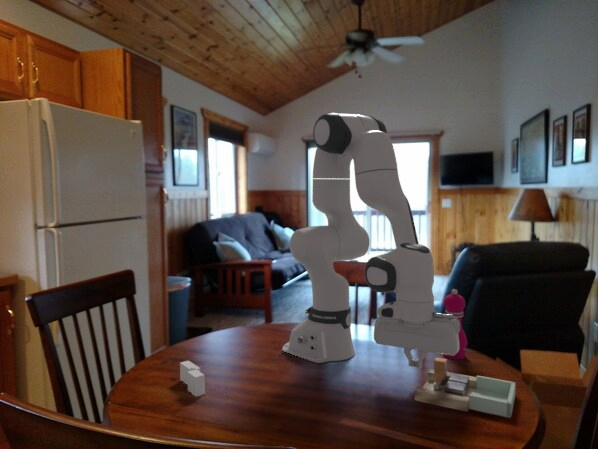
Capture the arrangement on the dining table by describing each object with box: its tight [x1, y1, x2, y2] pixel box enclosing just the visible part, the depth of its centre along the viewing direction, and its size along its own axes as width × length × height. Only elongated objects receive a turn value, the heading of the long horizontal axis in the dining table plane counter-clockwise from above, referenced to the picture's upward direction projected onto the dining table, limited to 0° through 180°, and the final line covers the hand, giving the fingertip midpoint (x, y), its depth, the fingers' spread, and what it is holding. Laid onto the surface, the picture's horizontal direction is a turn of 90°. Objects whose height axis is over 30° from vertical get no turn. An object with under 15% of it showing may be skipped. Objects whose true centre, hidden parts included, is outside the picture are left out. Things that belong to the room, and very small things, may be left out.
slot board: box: [413, 368, 477, 413], centre depth 103 cm, size 12×15×3 cm
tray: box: [468, 375, 517, 419], centre depth 98 cm, size 8×12×4 cm
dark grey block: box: [449, 373, 469, 395], centre depth 104 cm, size 4×4×3 cm
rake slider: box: [433, 357, 448, 392], centre depth 103 cm, size 2×9×7 cm, turn 150°
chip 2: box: [444, 381, 466, 397], centre depth 100 cm, size 4×4×3 cm
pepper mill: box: [442, 288, 468, 361], centre depth 128 cm, size 7×7×20 cm
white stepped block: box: [179, 360, 206, 398], centre depth 109 cm, size 15×11×6 cm
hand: (415, 366), depth 106 cm, fingers closed
